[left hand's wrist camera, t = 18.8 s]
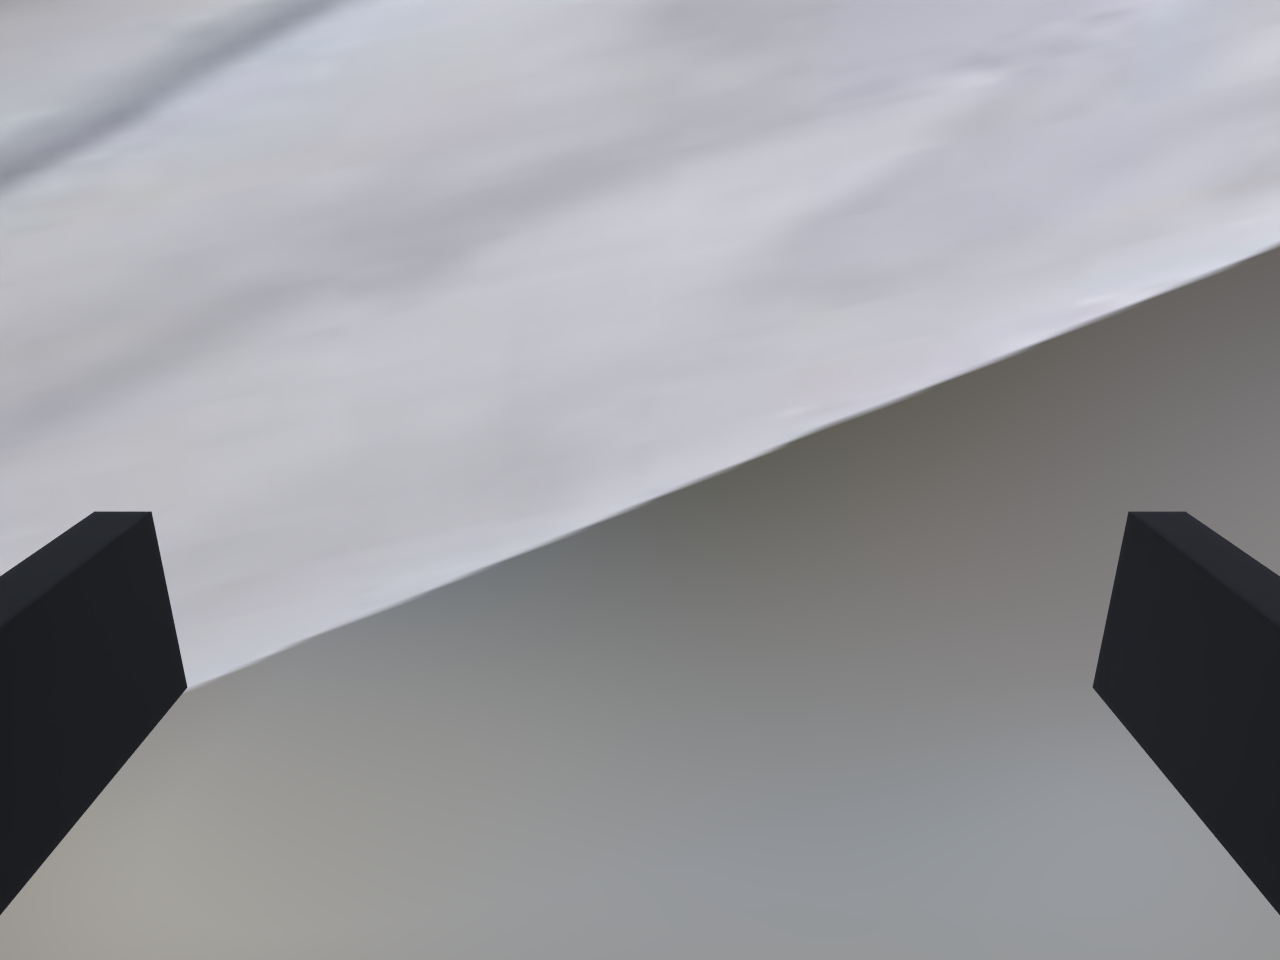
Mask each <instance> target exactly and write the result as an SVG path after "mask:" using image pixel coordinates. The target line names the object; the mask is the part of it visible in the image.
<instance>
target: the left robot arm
mask: <svg viewBox="0 0 1280 960" xmlns="http://www.w3.org/2000/svg"><path fill="white" fill-rule="evenodd" d="M186 688H187V684H186V679H185V674H184V669H183V664H182V659H181V654H180V649H179V644H178V639H177V635H176V630H175V625H174V620H173V615H172V610H171V605H170V600H169V595H168V590H167V586H166V581H165V576H164V571H163V566H162V561H161V556H160V551H159V546H158V541H157V536H156V532H155V527H154V522H153V517H152V512H93V513H92V514H90V515H89V516H87V517H86V518H85V519H83V520H82V521H80V522H79V523H77V524H76V525H74V526H73V527H71V528H70V529H69V530H67V531H66V532H64V533H63V534H61V535H60V536H58V537H57V538H55V539H54V540H53V541H51V542H50V543H48V544H47V545H45V546H44V547H42V548H41V549H40V550H38V551H37V552H35V553H34V554H32V555H31V556H29V557H28V558H26V559H25V560H24V561H22V562H21V563H19V564H18V565H16V566H15V567H13V568H12V569H10V570H9V571H8V572H6V573H5V574H3V575H2V576H0V915H1V913H2V912H3V911H4V910H5V909H6V907H7V906H8V905H9V904H10V903H11V901H12V900H13V899H14V898H15V896H16V895H17V894H18V893H19V892H20V890H21V889H22V888H23V887H24V885H25V884H26V883H27V882H28V881H29V879H30V878H31V877H32V876H33V874H34V873H35V872H36V871H37V870H38V868H39V867H40V866H41V865H42V864H43V862H44V861H45V860H46V859H47V857H48V856H49V855H50V854H51V853H52V851H53V850H54V849H55V848H56V847H57V845H58V844H59V843H60V842H61V840H62V839H63V838H64V837H65V836H66V834H67V833H68V832H69V831H70V829H71V828H72V827H73V826H74V825H75V823H76V822H77V821H78V820H79V818H80V817H81V816H82V815H83V814H84V812H85V811H86V810H87V809H88V808H89V806H90V805H91V804H92V803H93V802H94V800H95V799H96V798H97V797H98V795H99V794H100V793H101V792H102V791H103V789H104V788H105V787H106V786H107V784H108V783H109V782H110V781H111V780H112V778H113V777H114V776H115V775H116V774H117V772H118V771H119V770H120V769H121V767H122V766H123V765H124V764H125V763H126V761H127V760H128V759H129V758H130V757H131V755H132V754H133V753H134V752H135V750H136V749H137V748H138V747H139V745H140V744H141V743H142V742H143V741H144V739H145V738H146V737H147V736H148V735H149V733H150V732H151V731H152V730H153V729H154V727H155V726H156V725H157V724H158V722H159V721H160V720H161V719H162V718H163V716H164V715H165V714H166V713H167V711H168V710H169V709H170V708H171V707H172V705H173V704H174V703H175V702H176V701H177V699H178V698H179V697H180V696H181V694H182V693H183V692H184V691H185V690H186ZM1093 688H1094V690H1095V691H1096V692H1097V693H1098V694H1099V696H1100V697H1101V698H1102V699H1103V700H1104V702H1105V703H1106V704H1107V705H1108V707H1109V708H1110V709H1111V710H1112V711H1113V713H1114V714H1115V715H1116V716H1117V718H1118V719H1119V720H1120V721H1121V722H1122V724H1123V725H1124V726H1125V727H1126V729H1127V730H1128V731H1129V732H1130V733H1131V735H1132V736H1133V737H1134V738H1135V739H1136V741H1137V742H1138V743H1139V744H1140V745H1141V747H1142V748H1143V749H1144V750H1145V752H1146V753H1147V754H1148V755H1149V757H1150V758H1151V759H1152V760H1153V761H1154V763H1155V764H1156V765H1157V766H1158V767H1159V769H1160V770H1161V771H1162V772H1163V774H1164V775H1165V776H1166V777H1167V778H1168V780H1169V781H1170V782H1171V783H1172V784H1173V786H1174V787H1175V788H1176V789H1177V791H1178V792H1179V793H1180V794H1181V795H1182V797H1183V798H1184V799H1185V800H1186V802H1187V803H1188V804H1189V805H1190V806H1191V808H1192V809H1193V810H1194V811H1195V812H1196V814H1197V815H1198V816H1199V817H1200V819H1201V820H1202V821H1203V822H1204V823H1205V825H1206V826H1207V827H1208V828H1209V830H1210V831H1211V832H1212V833H1213V834H1214V836H1215V837H1216V838H1217V839H1218V840H1219V842H1220V843H1221V844H1222V845H1223V847H1224V848H1225V849H1226V850H1227V851H1228V853H1229V854H1230V855H1231V856H1232V857H1233V859H1234V860H1235V861H1236V862H1237V864H1238V865H1239V866H1240V867H1241V868H1242V870H1243V871H1244V872H1245V873H1246V875H1247V876H1248V877H1249V878H1250V879H1251V881H1252V882H1253V883H1254V884H1255V885H1256V887H1257V888H1258V889H1259V890H1260V892H1261V893H1262V894H1263V895H1264V896H1265V898H1266V899H1267V900H1268V901H1269V903H1270V904H1271V905H1272V906H1273V907H1274V909H1275V910H1276V911H1277V912H1278V913H1279V915H1280V576H1278V575H1277V574H1275V573H1274V572H1272V571H1271V570H1270V569H1268V568H1267V567H1265V566H1264V565H1262V564H1261V563H1259V562H1258V561H1256V560H1255V559H1254V558H1252V557H1251V556H1249V555H1248V554H1246V553H1245V552H1243V551H1242V550H1240V549H1239V548H1238V547H1236V546H1235V545H1233V544H1232V543H1230V542H1229V541H1227V540H1226V539H1225V538H1223V537H1222V536H1220V535H1219V534H1217V533H1216V532H1214V531H1213V530H1211V529H1210V528H1209V527H1207V526H1206V525H1204V524H1203V523H1201V522H1200V521H1198V520H1197V519H1195V518H1194V517H1192V516H1191V515H1190V514H1188V513H1187V512H1128V517H1127V522H1126V527H1125V532H1124V536H1123V542H1122V546H1121V551H1120V556H1119V561H1118V566H1117V571H1116V576H1115V581H1114V586H1113V590H1112V595H1111V600H1110V605H1109V610H1108V615H1107V620H1106V625H1105V630H1104V635H1103V640H1102V644H1101V649H1100V654H1099V659H1098V664H1097V669H1096V674H1095V679H1094V684H1093Z"/></svg>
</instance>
